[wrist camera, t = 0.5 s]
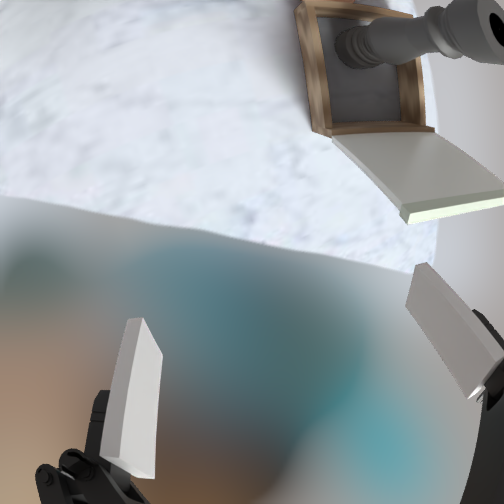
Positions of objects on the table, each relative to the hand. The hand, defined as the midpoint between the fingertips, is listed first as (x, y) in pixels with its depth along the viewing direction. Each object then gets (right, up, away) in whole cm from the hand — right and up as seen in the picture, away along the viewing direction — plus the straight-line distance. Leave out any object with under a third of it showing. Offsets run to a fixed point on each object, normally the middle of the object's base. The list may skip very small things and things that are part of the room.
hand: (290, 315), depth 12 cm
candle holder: (+12, +31, +17) cm, 37 cm away
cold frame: (+13, +25, +20) cm, 35 cm away
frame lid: (+15, +16, +18) cm, 28 cm away
